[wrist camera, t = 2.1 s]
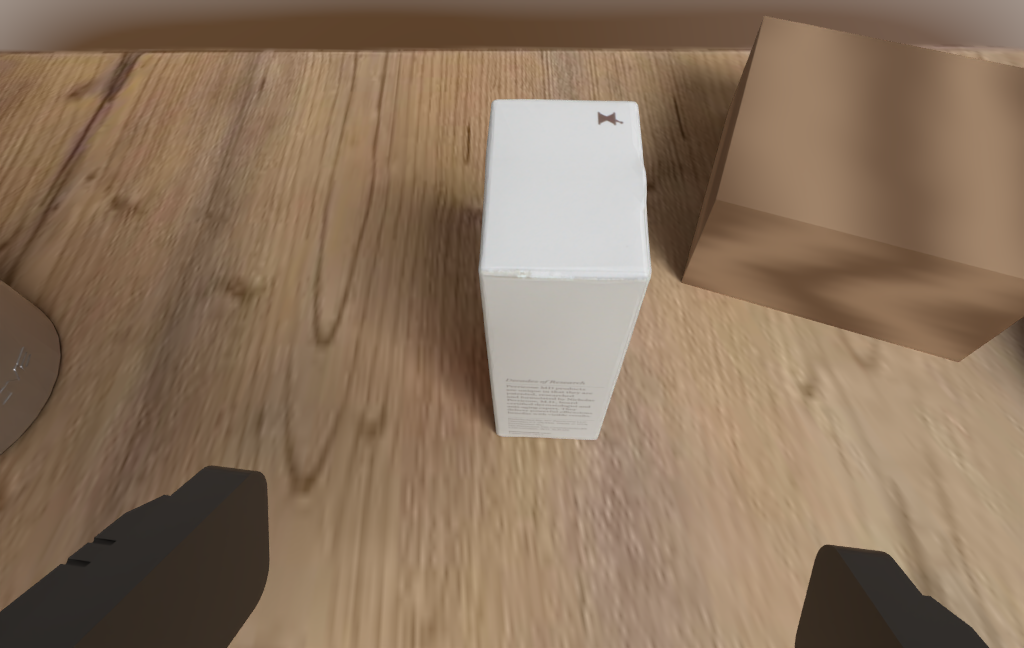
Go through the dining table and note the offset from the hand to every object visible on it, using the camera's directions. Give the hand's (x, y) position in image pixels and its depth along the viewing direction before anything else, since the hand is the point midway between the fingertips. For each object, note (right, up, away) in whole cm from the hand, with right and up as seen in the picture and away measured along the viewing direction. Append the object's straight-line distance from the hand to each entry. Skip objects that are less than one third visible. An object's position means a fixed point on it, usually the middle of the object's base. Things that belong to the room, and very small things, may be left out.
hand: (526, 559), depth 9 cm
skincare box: (+1, +1, +17) cm, 17 cm away
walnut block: (+15, +8, +21) cm, 27 cm away
